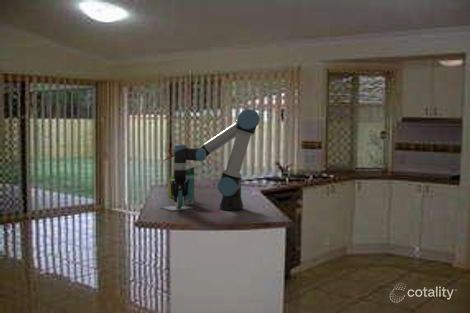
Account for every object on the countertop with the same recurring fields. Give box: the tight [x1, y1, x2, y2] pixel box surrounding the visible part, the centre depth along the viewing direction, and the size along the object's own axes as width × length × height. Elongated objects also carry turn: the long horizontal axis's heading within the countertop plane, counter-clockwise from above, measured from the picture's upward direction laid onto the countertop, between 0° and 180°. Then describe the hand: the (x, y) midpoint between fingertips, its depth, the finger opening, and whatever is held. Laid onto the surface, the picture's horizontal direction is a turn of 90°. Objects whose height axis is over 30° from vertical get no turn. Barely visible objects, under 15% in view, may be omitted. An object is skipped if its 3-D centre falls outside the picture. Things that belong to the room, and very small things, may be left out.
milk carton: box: [177, 165, 195, 206], centre depth 339 cm, size 9×9×25 cm
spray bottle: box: [163, 148, 175, 199], centre depth 366 cm, size 14×18×35 cm
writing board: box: [159, 205, 195, 212], centre depth 321 cm, size 18×13×1 cm
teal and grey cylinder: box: [176, 188, 183, 209], centre depth 318 cm, size 4×4×13 cm
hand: (179, 206), depth 318 cm, fingers closed on teal and grey cylinder, 3 cm apart
